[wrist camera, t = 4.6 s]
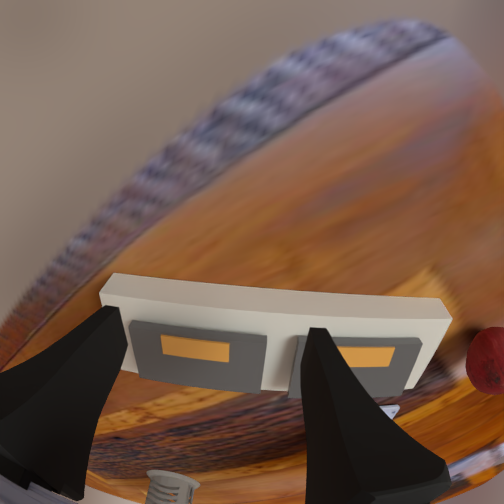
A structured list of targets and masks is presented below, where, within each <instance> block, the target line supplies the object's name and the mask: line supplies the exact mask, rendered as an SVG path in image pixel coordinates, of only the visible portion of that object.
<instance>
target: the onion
mask: <svg viewBox="0 0 504 504" xmlns="http://www.w3.org/2000/svg"><path fill="white" fill-rule="evenodd" d="M466 372H467V375H468V377H469V379H470V381H471V383H472V385H473V386H474V387H475V388H476V389H478V390H479V391H481V392H483V393H487V394H493V395H496V394H502V393H504V328H503V327H490V328H487V329H484V330H482V331H479V332H478V333H477V334H476V336H475V337H474V339H473V341H472V342H471V344H470V346H469V349H468V351H467V358H466Z"/></svg>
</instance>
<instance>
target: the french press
mask: <svg viewBox="0 0 504 504" xmlns="http://www.w3.org/2000/svg"><path fill="white" fill-rule="evenodd" d="M147 475H148V477H149V478H150V479H151V481H150V485H149V489H148V493H147V497H146V502H145V504H188V503H189V502H190V504H192V500H193V494H194V490H195V489H197V488H198V487H199V486H200V484H199V482H197V481H196V480H194V479H192V478H189V477H187V476H184V475H181V474H177V473H174V472H169V471H163V470H149V471H147ZM159 490H160V491H159ZM161 491H163V492H161ZM167 493H173V494H174V495H176V496H171V495H169V494H167ZM190 496H191V498H190V499H189V497H190ZM167 499H172V500H174V501H175V502H171V501H169V500H167ZM160 500H162V501H160ZM163 501H164V502H163Z"/></svg>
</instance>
